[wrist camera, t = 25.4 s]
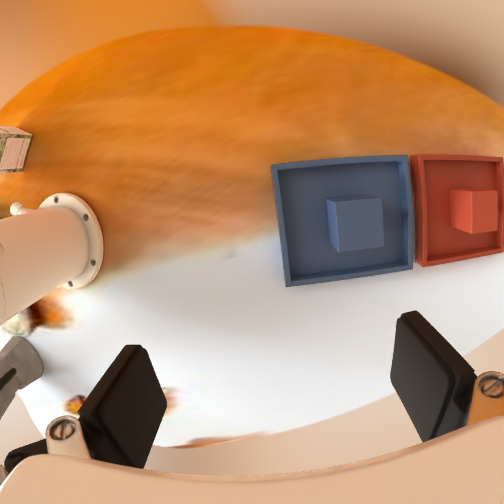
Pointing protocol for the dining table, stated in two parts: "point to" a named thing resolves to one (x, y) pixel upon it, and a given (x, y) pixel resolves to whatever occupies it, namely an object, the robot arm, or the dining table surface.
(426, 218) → the red tray
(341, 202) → the blue block
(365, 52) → the dining table surface
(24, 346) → the coffeepot
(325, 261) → the blue tray
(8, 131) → the syrup box
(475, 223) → the red block
